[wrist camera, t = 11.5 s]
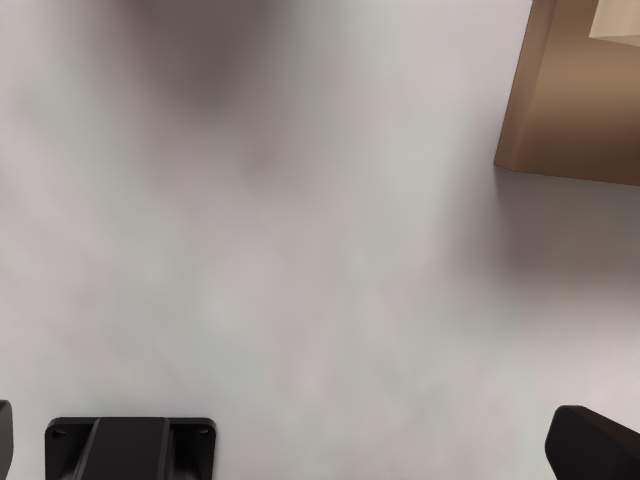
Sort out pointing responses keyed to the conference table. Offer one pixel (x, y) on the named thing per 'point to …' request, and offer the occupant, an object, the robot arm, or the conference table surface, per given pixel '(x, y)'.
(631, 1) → the beech stick
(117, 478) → the robot arm
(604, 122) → the balance stand
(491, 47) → the conference table surface
